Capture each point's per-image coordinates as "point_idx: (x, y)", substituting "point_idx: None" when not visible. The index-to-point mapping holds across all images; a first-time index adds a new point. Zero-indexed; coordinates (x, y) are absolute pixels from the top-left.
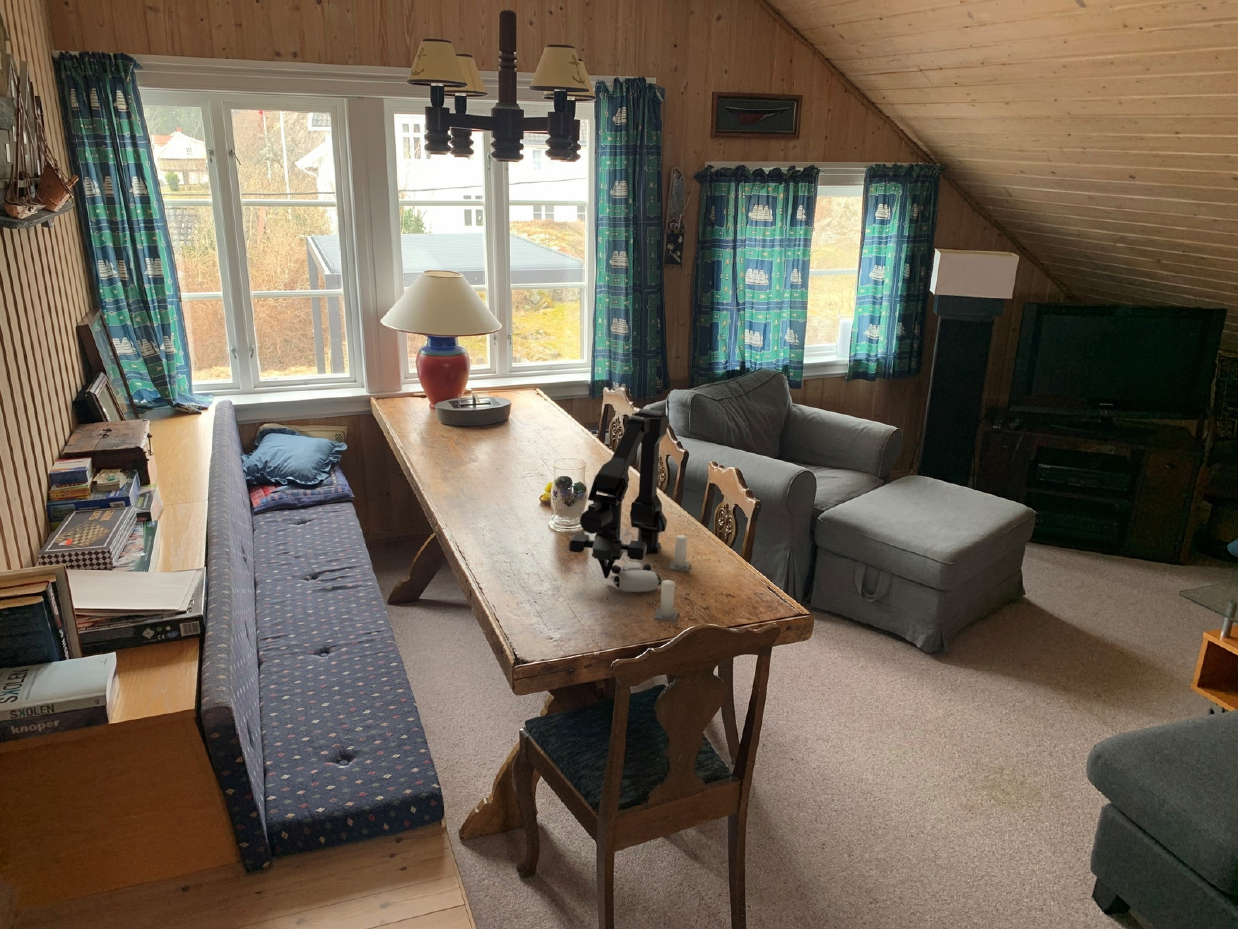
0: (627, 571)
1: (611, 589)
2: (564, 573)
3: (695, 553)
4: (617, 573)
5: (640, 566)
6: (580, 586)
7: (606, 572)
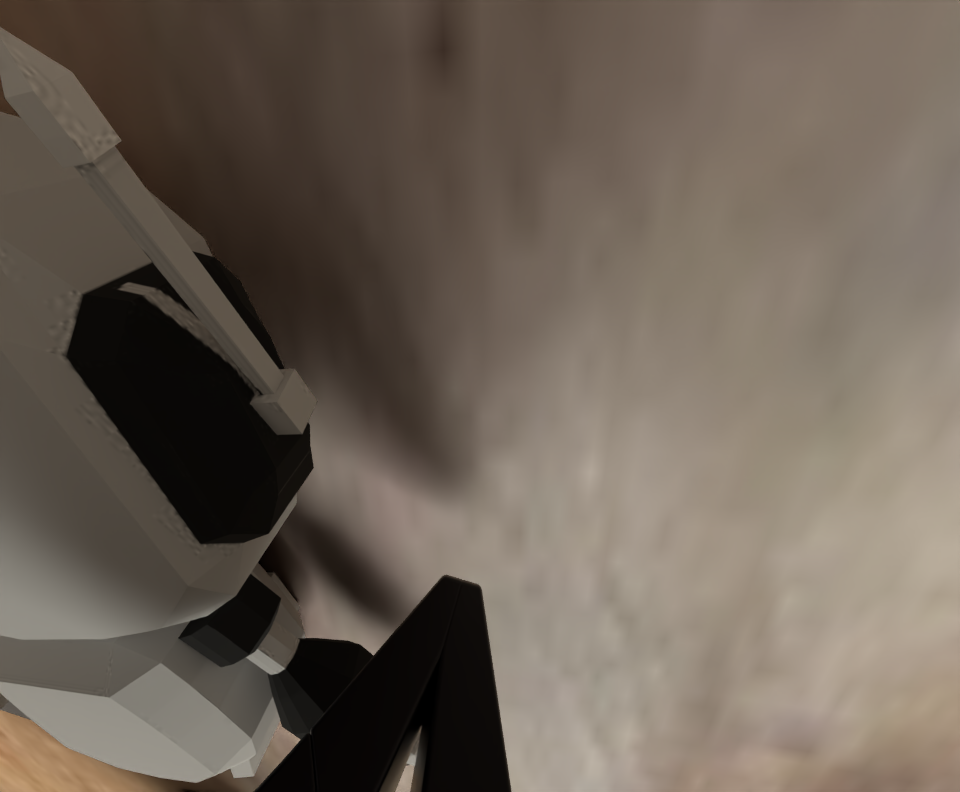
0: (86, 623)
1: (401, 383)
2: (946, 757)
3: (6, 750)
4: (331, 647)
5: (8, 695)
6: (856, 486)
7: (431, 662)
